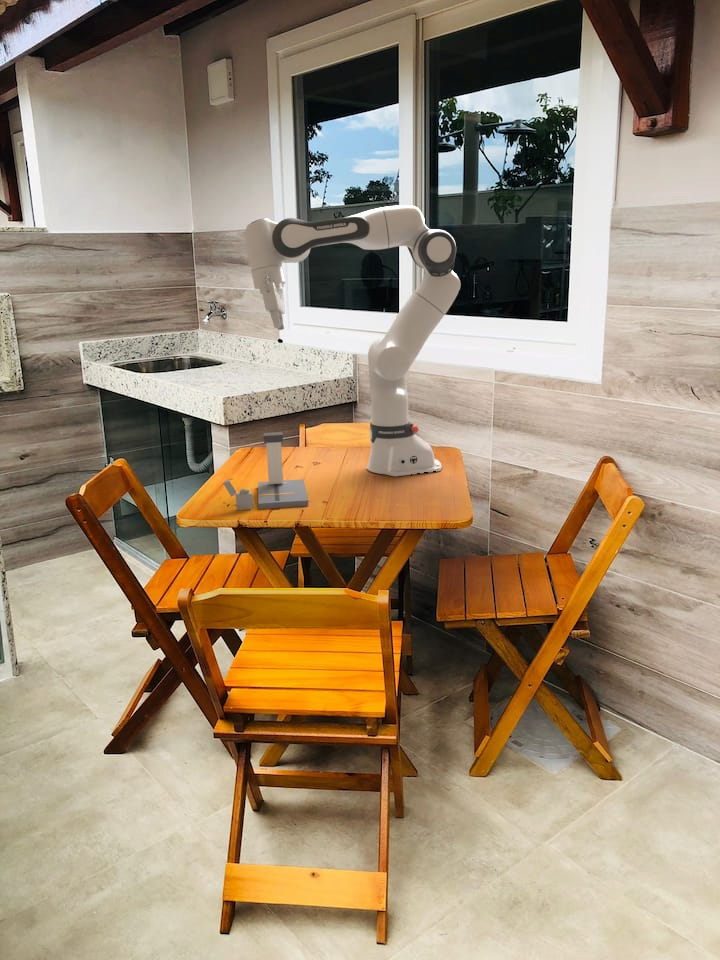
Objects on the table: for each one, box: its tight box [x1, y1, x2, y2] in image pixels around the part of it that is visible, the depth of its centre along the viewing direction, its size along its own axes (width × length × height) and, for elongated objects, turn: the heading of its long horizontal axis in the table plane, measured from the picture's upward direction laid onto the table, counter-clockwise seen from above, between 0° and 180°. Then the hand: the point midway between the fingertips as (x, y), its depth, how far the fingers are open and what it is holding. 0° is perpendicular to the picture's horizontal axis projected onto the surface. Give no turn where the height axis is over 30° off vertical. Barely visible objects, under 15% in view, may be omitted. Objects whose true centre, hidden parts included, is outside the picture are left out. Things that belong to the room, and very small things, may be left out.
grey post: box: [263, 431, 284, 484], centre depth 221 cm, size 5×4×14 cm
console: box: [257, 478, 309, 510], centre depth 216 cm, size 13×20×2 cm, turn 7°
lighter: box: [222, 479, 254, 511], centre depth 206 cm, size 7×2×8 cm, turn 92°
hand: (279, 328), depth 223 cm, fingers open, 8 cm apart
